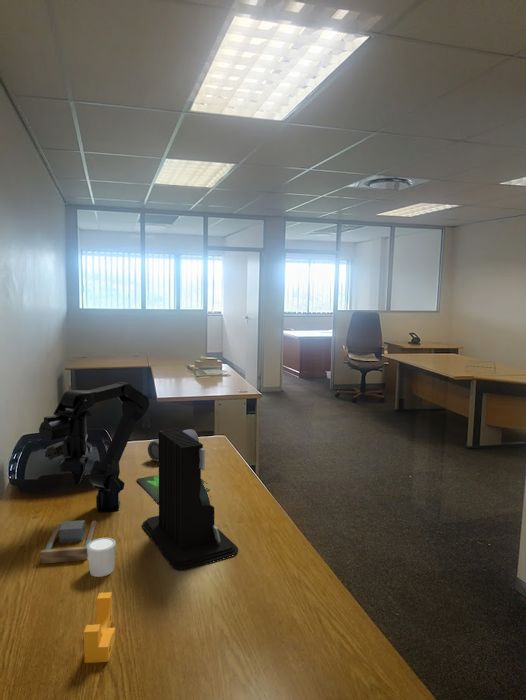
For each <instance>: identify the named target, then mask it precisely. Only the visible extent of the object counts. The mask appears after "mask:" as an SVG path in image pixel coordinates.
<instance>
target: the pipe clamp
mask: <svg viewBox="0 0 526 700" xmlns="http://www.w3.org/2000/svg"><path fill="white" fill-rule="evenodd" d="M112 622H113V592H112V591H111V592H110V591H107V592H99V593H98V595H97V598H96V612H95V619H94V624H86V625H85V628H84V631H83V646H84V647H83V650H84V654H83V655H84V658H83V659H84V664H92V663H93V664H95V663H107V662H108V663H109V662H110V661H109V660H110V659H111V654H112V651H113V647H114V643H115V641H116V627H111V626H112Z"/></svg>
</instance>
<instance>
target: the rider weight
mask: <svg viewBox="0 0 526 700" xmlns="http://www.w3.org/2000/svg"><path fill="white" fill-rule="evenodd" d="M58 536H59V543H60V544H64V543H65V544H66V543H78V542H79V543H80V542H83V540H84V539H85V536H86V520H85V519H83V520H67V521H65V520H63V521H62V523H61V527H60V529H59V534H58Z"/></svg>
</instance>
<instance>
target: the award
mask: <svg viewBox="0 0 526 700" xmlns="http://www.w3.org/2000/svg"><path fill="white" fill-rule="evenodd" d="M183 431H184V430H181V428H179V427H177V428H171V429H162V430H158V439H159V461H158V475H159V504H158V515H155V516H151V517H148V518H147V519H146V520H144V521H142V524H141V526H142V528H143V530H144V531H145V532H146V533H147V535H148V536H149V538H150V539H151V540H152V542H153V543H154V545H155V546H156V547H157V548H158V550H159V551H160V553H161V554H162V555H163V557H164V558H165V560H166V562H168V564H169V565H170V567H171V568H172V569H174V570H175V571H188V570H190V569H194V568H198V567H202V566H205V565H208V564H211V563H210V562H212V563H214V562H213V561H215V562H218V561H217V560H219V561H221V560H220V559H222V560H224V559H223V558H226V559H228V558H227V557H229V556H232V555H235V554H236V553H237V552H238V553H239V548H238V546H237V545H236V544H235V543H234V542H233V541H232V540H231V539H229V537H227V536H226V535H225V534H224V532H222V531H221V530H220V528H218V526H216V525H215V506H213V505H212V504H211V501H210V497H208V494H207V492H206V489H205V487H204V485H203V483H202V481H201V479H202V471H205V466H206V465H205V464H206V463H205V458H206V453H205V452H206V450H205V449H204V444H203V443H201V442H200V440H199V441H198V442H197V440H195V439H194V438H192V437H190V436H189V435H187V434H185V432H183ZM238 553H237V554H238ZM237 554H236V555H237ZM236 555H235V556H236ZM229 558H230V557H229ZM207 563H208V564H207ZM204 564H205V565H204ZM201 565H202V566H201ZM197 566H198V567H197Z"/></svg>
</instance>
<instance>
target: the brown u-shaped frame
mask: <svg viewBox="0 0 526 700" xmlns="http://www.w3.org/2000/svg"><path fill="white" fill-rule="evenodd" d="M97 524H98V523H97V520H92V522H91V525H90V527H89V531H88V535H87V538H86V541H85V544H84V546H76V547H75V546H74V547H64V548H52V547H54V545H55V543H56V540H57V538H58V536H59V529H60V527H61V525H62V523H56V524H55V526H54V528H53V531H52V533H51V534H50V535H51V536H50V538H49V540H48V542H47V545H46V547H45V549H41V550H40V553H39V554H40V556H39V557H40V564H41V565H42V564H43V565H44V564H53V563H61V562H62V563H64V562H77V561H85V560H88V553H87V544H88V543H89V542H91V541H93V540H94V537H95V533H96V529H97Z"/></svg>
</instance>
